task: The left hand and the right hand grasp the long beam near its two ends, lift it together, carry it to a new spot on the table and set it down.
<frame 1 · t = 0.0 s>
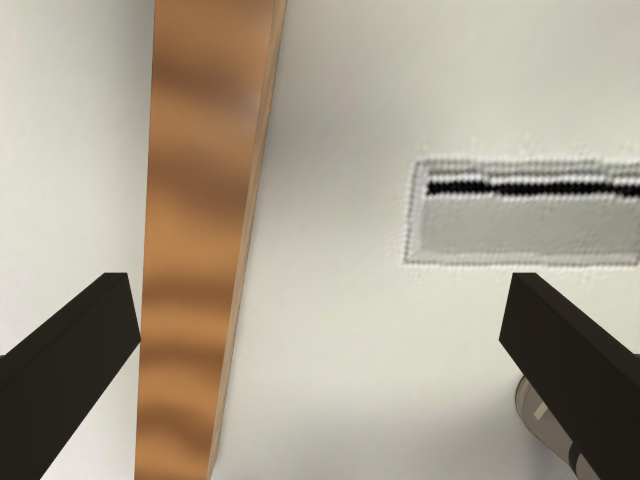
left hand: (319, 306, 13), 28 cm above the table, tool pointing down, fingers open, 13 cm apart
long beam: (208, 256, 43), on the table
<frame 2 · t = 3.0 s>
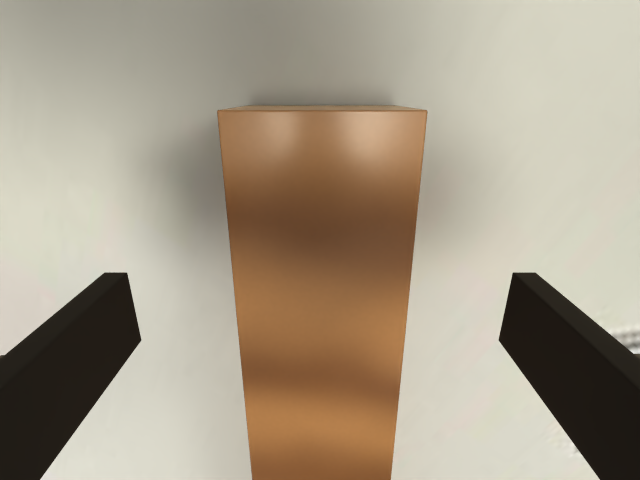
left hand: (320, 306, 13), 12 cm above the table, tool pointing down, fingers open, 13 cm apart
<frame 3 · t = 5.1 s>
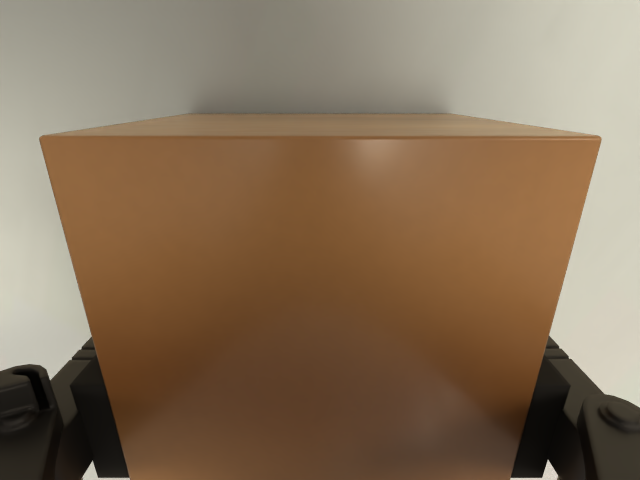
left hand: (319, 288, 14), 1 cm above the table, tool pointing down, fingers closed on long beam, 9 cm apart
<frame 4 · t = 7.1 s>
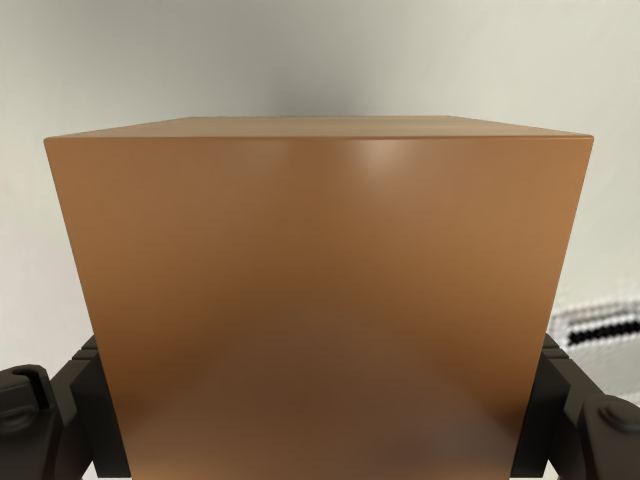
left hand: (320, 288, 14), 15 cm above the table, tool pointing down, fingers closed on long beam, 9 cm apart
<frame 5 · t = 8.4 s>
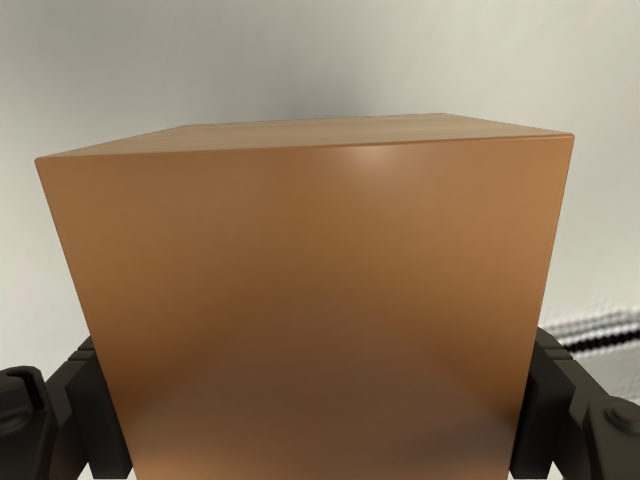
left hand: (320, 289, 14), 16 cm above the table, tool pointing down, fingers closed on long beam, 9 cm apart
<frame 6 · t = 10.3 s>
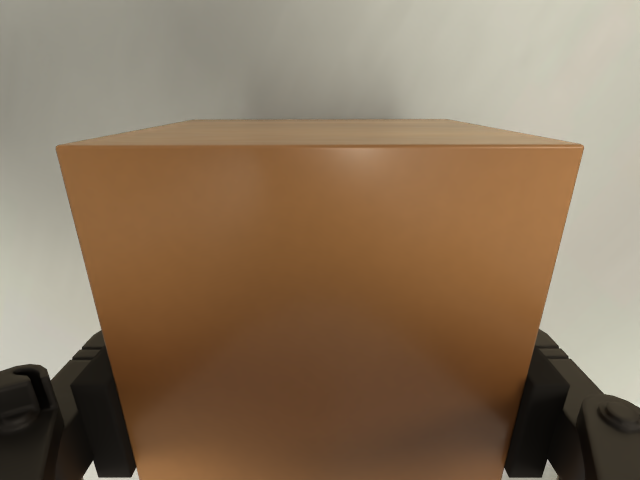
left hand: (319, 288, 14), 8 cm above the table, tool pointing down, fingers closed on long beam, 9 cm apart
when the left hand's fingers open (2 cm above the table, at t = 11.7 s): long beam drops 1 cm, on the table.
when the right hand's fingers open (2 cm above the table, at t = 11.7 s): long beam drops 1 cm, on the table.
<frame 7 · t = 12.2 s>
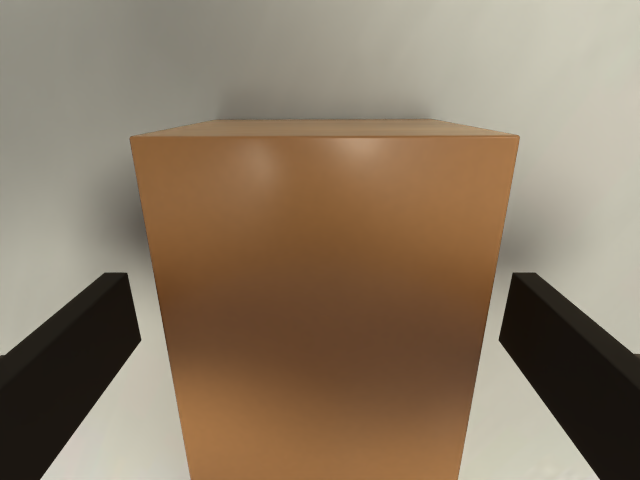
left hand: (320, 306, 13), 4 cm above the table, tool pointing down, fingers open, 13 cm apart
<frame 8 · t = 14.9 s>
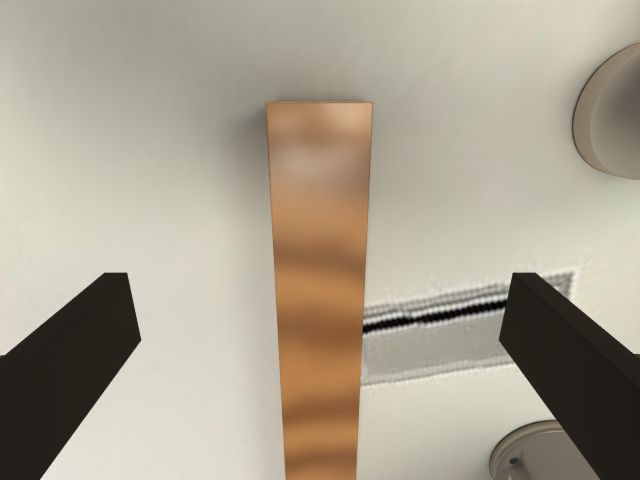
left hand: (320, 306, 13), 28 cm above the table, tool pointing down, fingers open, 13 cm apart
long beam: (320, 364, 49), on the table
bust sculpture: (635, 71, 36), on the table
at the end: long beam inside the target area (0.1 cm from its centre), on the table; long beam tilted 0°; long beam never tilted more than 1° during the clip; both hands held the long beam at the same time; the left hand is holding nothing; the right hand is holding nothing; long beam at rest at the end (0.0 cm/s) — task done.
